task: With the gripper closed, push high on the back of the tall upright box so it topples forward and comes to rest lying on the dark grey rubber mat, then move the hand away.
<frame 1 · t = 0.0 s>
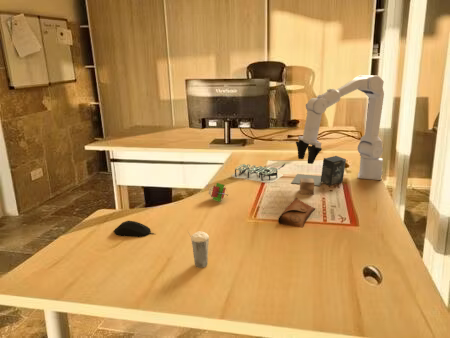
hand: (305, 161, 155), 11 cm above the table, tool pointing down, fingers open, 7 cm apart
milkshake: (199, 265, 99), on the table
walnut block: (306, 192, 150), on the table
mat: (307, 180, 164), on the table
geometric puzzle: (218, 200, 144), on the table
box: (331, 182, 161), on the table, touching mat
sunglasses case: (297, 217, 129), on the table
gaming mouse: (136, 234, 119), on the table
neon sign: (263, 172, 179), on the table
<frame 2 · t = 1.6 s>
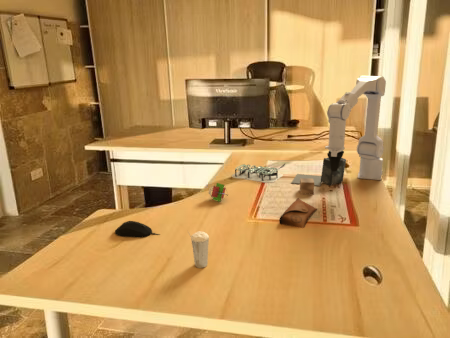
hand: (334, 170, 146), 9 cm above the table, tool pointing down, fingers closed
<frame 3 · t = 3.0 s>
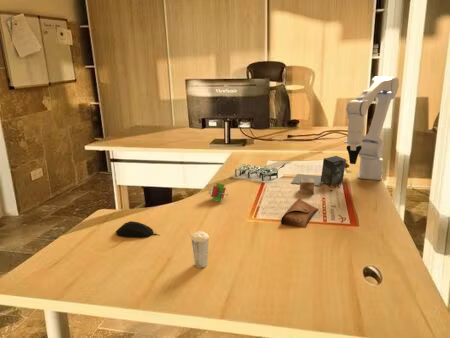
hand: (352, 163, 155), 9 cm above the table, tool pointing down, fingers closed
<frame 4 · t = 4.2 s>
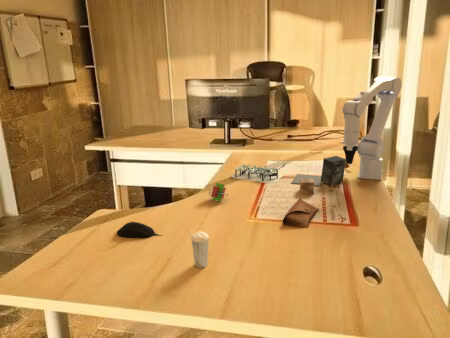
hand: (349, 163, 156), 9 cm above the table, tool pointing down, fingers closed
box: (331, 182, 161), on the table, touching gripper, mat
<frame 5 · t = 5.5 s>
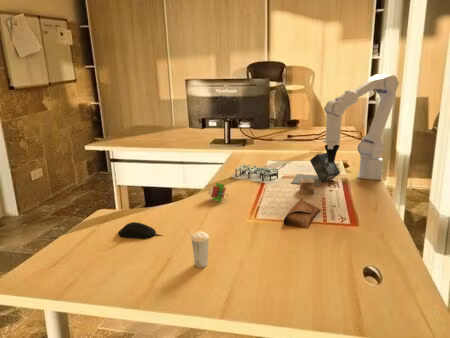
hand: (331, 162, 159), 9 cm above the table, tool pointing down, fingers closed
box: (330, 177, 161), point 2 cm above the table, touching mat
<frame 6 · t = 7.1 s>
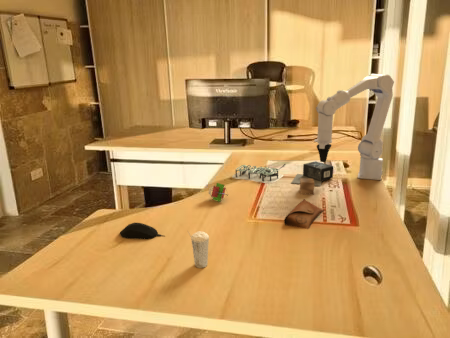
hand: (323, 161, 160), 9 cm above the table, tool pointing down, fingers closed
box: (327, 173, 162), point 3 cm above the table, touching mat
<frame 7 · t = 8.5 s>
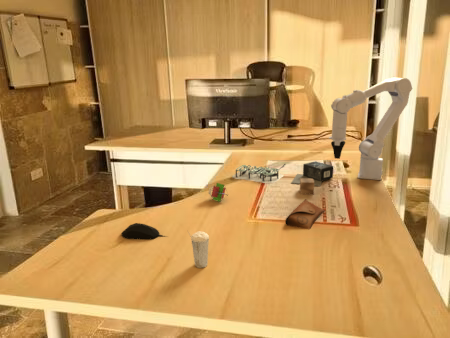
hand: (337, 158, 164), 9 cm above the table, tool pointing down, fingers closed
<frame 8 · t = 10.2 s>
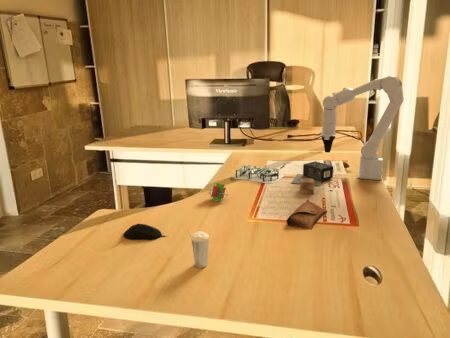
hand: (327, 152, 173), 9 cm above the table, tool pointing down, fingers closed
at the end: box tilted 91°; box inside the target area (7.6 cm from its centre), point 3.3 cm above the table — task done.
